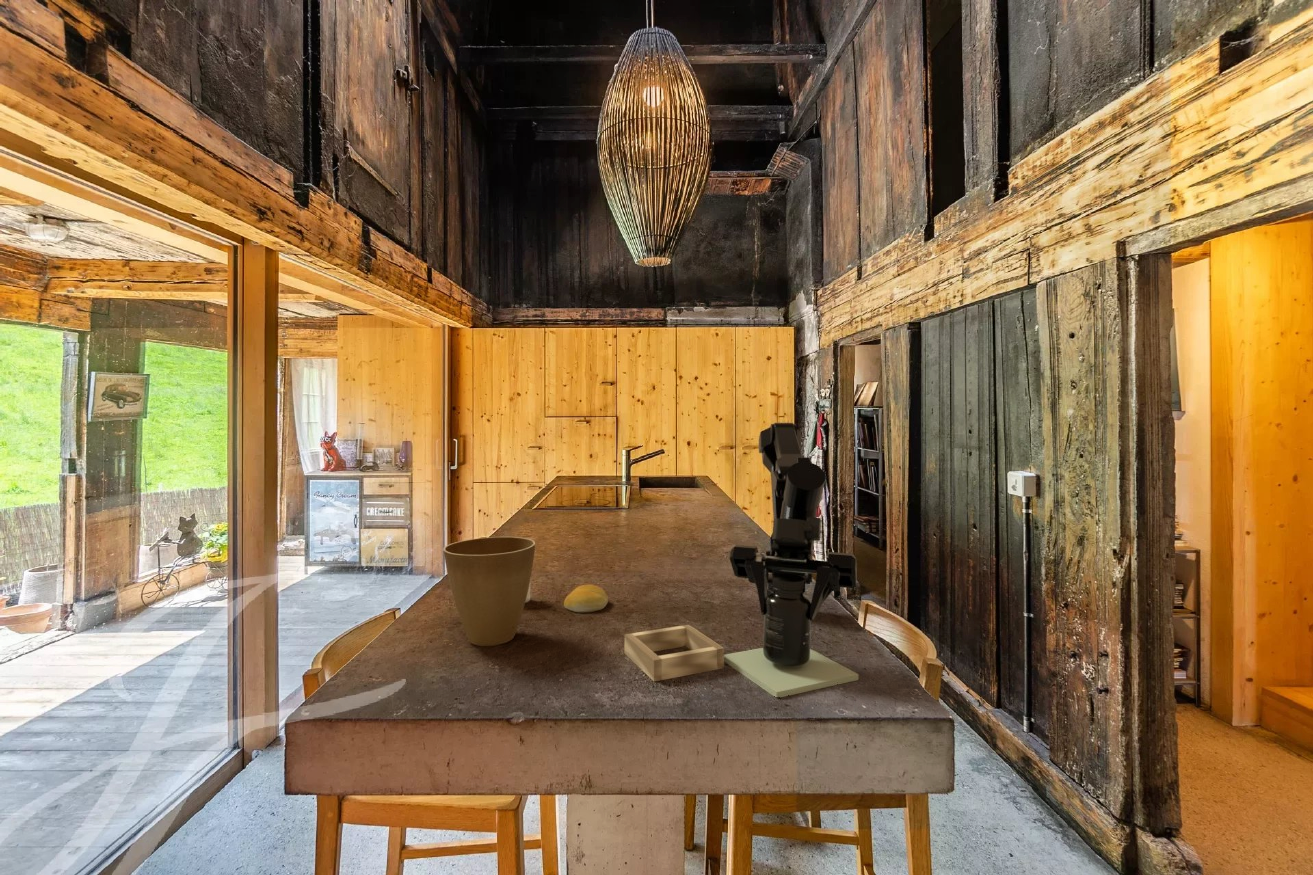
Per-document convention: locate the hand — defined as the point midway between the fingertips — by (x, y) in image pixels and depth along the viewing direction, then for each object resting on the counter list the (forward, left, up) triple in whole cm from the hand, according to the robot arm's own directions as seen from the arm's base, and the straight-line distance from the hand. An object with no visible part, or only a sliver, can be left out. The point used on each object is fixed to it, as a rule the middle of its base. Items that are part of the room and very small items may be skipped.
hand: (786, 616), depth 87 cm
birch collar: (+13, -11, -8) cm, 19 cm away
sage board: (-1, -1, -8) cm, 8 cm away
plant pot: (+37, -32, -8) cm, 50 cm away
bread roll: (+17, -43, -9) cm, 47 cm away
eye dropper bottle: (+29, -51, -8) cm, 59 cm away
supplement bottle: (-1, -1, -7) cm, 7 cm away
